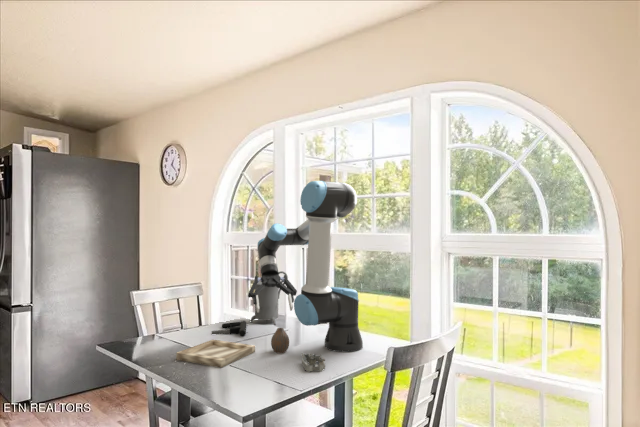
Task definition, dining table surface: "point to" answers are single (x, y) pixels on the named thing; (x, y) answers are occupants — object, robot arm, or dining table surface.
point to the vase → (280, 341)
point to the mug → (268, 303)
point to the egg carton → (313, 362)
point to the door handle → (233, 328)
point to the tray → (215, 353)
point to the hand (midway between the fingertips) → (275, 309)
